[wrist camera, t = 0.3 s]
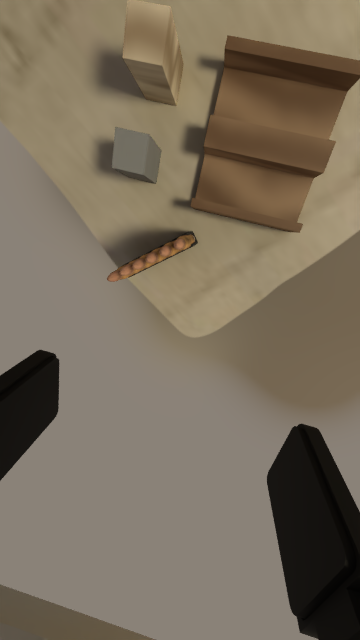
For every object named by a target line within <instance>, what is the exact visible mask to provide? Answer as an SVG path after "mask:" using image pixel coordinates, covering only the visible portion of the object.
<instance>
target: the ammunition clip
mask: <svg viewBox="0 0 360 640" xmlns="http://www.w3.org/2000/svg"><path fill="white" fill-rule="evenodd" d="M197 243H198V242H197V240H196V237H195V235H194V233H193V232H188V233H185V234H183V235H181V236H180V237H178V238H176V239H174V240H172V241H170V242H168V243H166V244H164V245H162V246H160V247H158V248H156V249H154V250H152V251H150V252H148V253H146V254H144V255H142V256H140V257H138V258H136V259H134V260H132V261H130V262H129V263H127V264H125V265H123V266H121V267H119V268H118V269H117V270H116V271H114V272H112V273H111V274H110V275H109V276H108V278H107V280H108V281H110V282H114V281H118V280H121V279H125V278H127V277H131V276H133V275H135V274H137V273H139V272H141V271H143V270H145V269H147V268H150V267H152V266H154V265H156V264H158V263H160V262H162V261H164V260H166V259H168V258H170V257H172V256H174V255H176V254H178V253H180V252H182V251H184V250H186V249H188V248H191V247H193V246H194V245H196V244H197Z"/></svg>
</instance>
